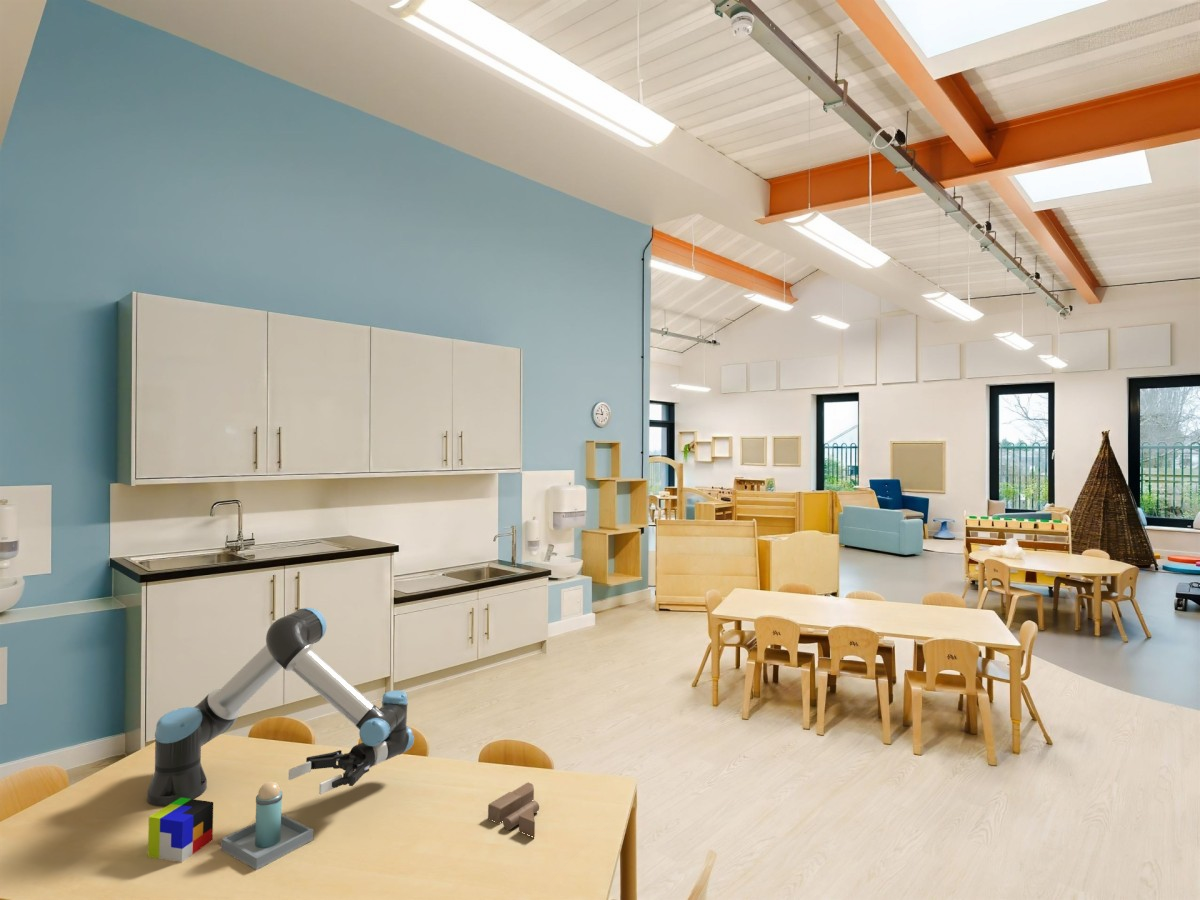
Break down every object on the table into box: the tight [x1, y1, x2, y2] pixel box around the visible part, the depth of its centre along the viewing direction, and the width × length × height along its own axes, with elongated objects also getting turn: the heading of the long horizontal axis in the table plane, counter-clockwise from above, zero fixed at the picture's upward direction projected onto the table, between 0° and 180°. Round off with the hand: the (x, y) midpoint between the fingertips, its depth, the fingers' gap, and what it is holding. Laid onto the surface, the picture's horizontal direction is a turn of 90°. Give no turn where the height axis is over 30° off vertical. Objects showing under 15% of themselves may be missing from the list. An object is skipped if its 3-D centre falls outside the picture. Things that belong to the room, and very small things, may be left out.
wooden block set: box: [487, 782, 540, 837], centre depth 193 cm, size 17×6×18 cm
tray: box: [220, 813, 314, 871], centre depth 177 cm, size 16×16×3 cm
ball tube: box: [255, 781, 283, 848], centre depth 177 cm, size 6×6×15 cm
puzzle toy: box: [147, 798, 214, 863], centre depth 175 cm, size 10×10×10 cm
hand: (304, 781), depth 186 cm, fingers open, 13 cm apart
